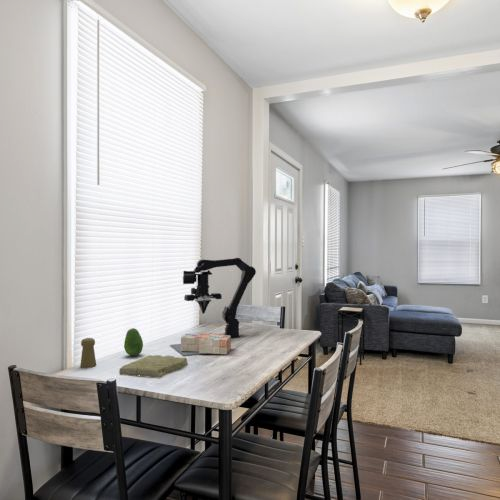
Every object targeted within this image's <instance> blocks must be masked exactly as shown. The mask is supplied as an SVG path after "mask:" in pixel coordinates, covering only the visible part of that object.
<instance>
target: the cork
mask: <svg viewBox="0 0 500 500" xmlns="http://www.w3.org/2000/svg"><path fill="white" fill-rule="evenodd" d="M95 344H96V341H95V339H94V338H93V337H86V338H83V339H81V342H80V346H81V347H82V350H81V357H80V365H79V367H80V368H81V369H90V368H95V367H97V361H96V360H97V359H96V354H95V347H94V346H95Z"/></svg>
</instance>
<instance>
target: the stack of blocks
mask: <svg viewBox="0 0 500 500" xmlns="http://www.w3.org/2000/svg"><path fill="white" fill-rule="evenodd" d="M231 339H232V338H231V336H230V335H225V334H199V333H185V334H183V335H182V336H181V337H180V344H181V351H193V352H199V353H207V354H213V355H227V354H228V353H229V352H230V350H231V348H232V347H231V346H232V345H231V344H232V343H231V341H232V340H231Z"/></svg>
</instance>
